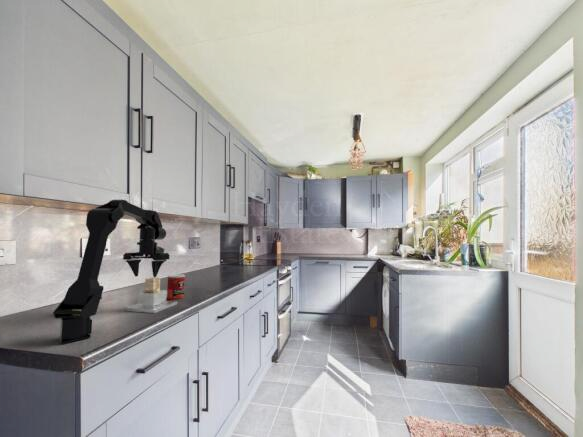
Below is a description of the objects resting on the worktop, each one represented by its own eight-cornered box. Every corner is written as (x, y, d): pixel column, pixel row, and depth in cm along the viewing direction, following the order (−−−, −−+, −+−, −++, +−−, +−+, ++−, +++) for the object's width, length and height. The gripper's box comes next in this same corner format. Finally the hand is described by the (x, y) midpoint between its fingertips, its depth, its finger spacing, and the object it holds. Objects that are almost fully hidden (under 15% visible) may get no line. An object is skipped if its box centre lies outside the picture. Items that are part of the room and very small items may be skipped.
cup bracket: (154, 313, 100) (155, 296, 101) (124, 310, 103) (124, 294, 104) (177, 303, 114) (177, 289, 114) (150, 302, 117) (150, 287, 117)
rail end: (152, 301, 106) (153, 279, 107) (144, 301, 107) (145, 279, 108) (159, 299, 110) (160, 277, 111) (151, 298, 111) (152, 277, 112)
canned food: (173, 300, 120) (174, 276, 120) (163, 298, 124) (164, 275, 125) (187, 297, 126) (188, 274, 127) (177, 295, 130) (178, 273, 131)
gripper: (178, 239, 116) (177, 274, 115) (143, 239, 120) (141, 273, 119) (160, 240, 105) (159, 278, 104) (123, 239, 110) (121, 277, 108)
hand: (145, 276), depth 109 cm, fingers open, 9 cm apart
